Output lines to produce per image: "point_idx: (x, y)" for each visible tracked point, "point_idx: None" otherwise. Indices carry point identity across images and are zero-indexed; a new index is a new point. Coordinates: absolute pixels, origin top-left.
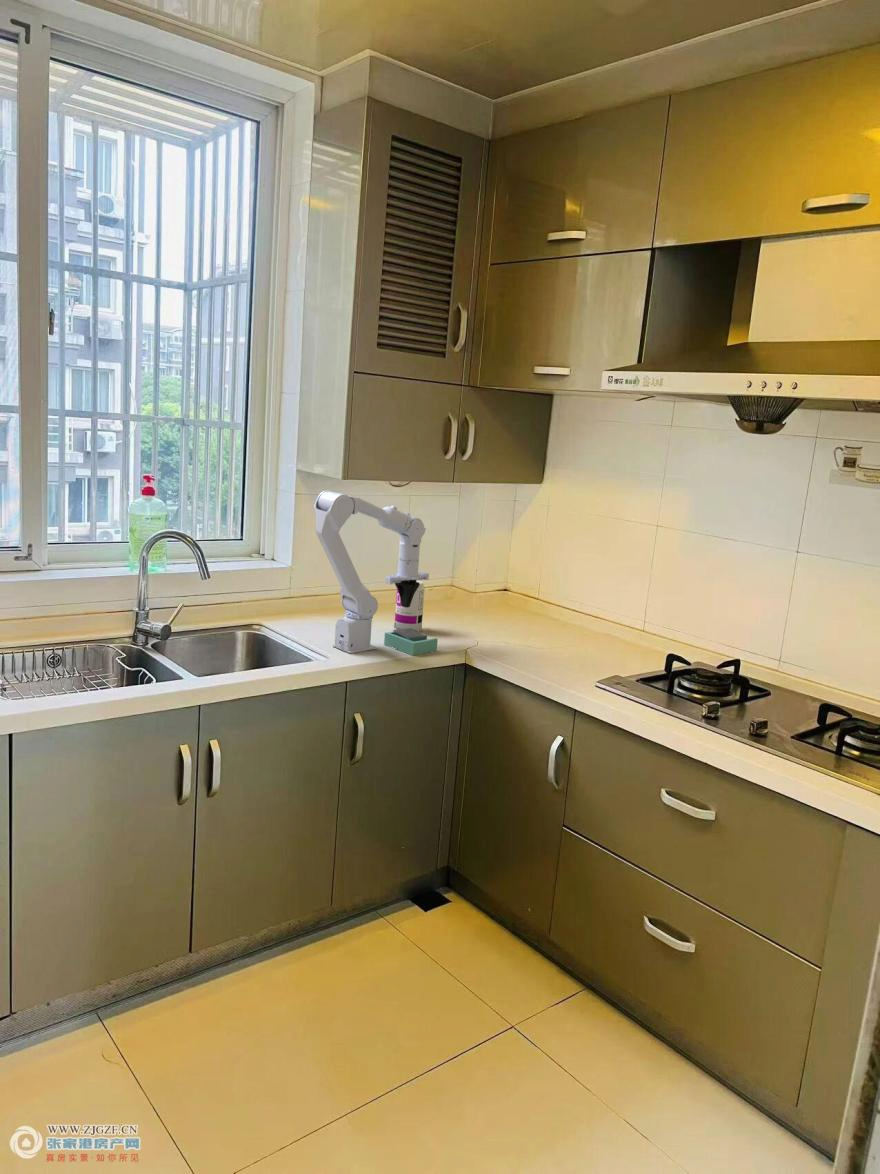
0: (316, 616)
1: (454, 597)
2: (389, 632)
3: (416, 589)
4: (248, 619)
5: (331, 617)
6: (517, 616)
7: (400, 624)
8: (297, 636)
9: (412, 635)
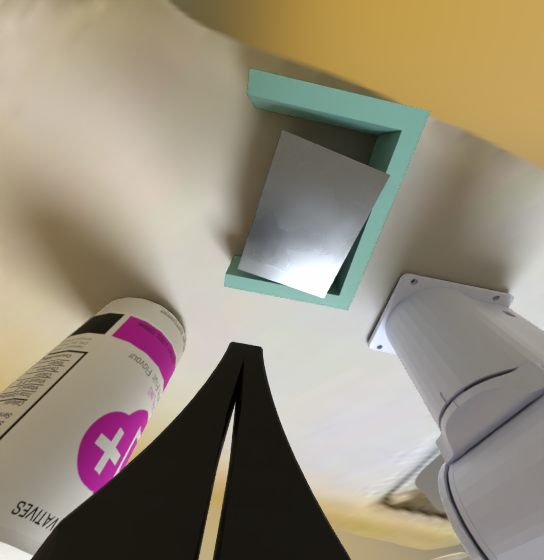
0: None
1: None
2: (332, 301)
3: (135, 468)
4: (365, 519)
5: None
6: None
7: (176, 348)
8: (416, 440)
9: (346, 185)
